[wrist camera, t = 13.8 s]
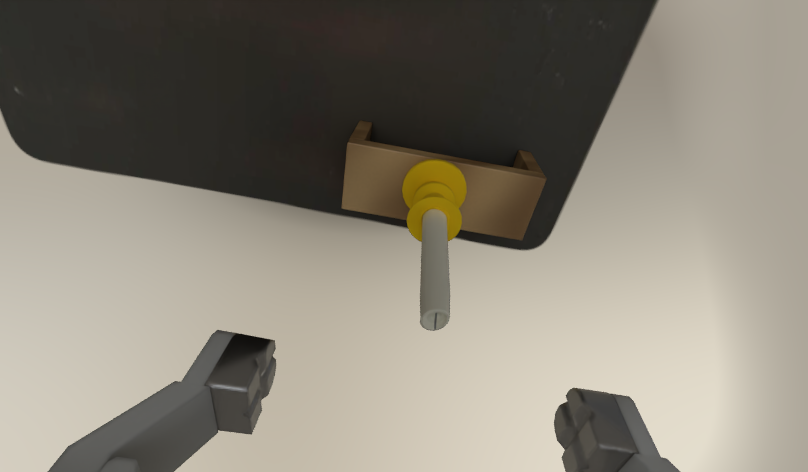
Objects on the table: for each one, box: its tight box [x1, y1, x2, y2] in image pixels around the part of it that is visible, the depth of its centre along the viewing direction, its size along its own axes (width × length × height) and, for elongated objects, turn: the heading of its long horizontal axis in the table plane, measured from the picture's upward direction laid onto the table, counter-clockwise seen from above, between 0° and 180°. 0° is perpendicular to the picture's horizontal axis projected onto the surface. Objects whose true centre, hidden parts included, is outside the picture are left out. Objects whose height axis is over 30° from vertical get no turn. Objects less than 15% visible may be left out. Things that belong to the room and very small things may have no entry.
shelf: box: [342, 121, 546, 240], centre depth 34 cm, size 16×6×6 cm, turn 80°
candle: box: [402, 159, 467, 331], centre depth 25 cm, size 5×5×16 cm
